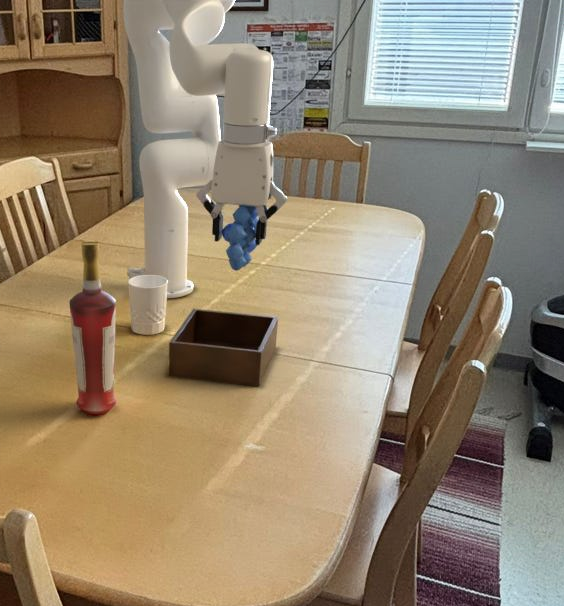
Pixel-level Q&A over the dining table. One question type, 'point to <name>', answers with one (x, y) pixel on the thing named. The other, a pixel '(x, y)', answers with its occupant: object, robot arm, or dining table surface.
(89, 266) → the liquor
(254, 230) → the grapes
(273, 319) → the brown wooden box
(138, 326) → the white cup
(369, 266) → the dining table surface
